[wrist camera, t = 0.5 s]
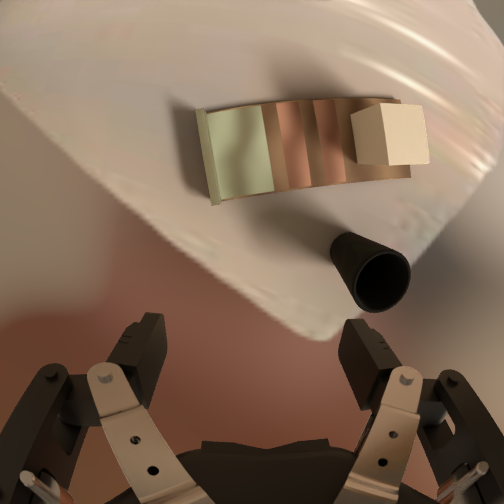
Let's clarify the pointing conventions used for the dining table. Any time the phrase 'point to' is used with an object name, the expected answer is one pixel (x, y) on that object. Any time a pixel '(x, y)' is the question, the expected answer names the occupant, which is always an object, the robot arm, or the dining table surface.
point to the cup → (371, 271)
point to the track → (285, 147)
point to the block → (390, 135)
